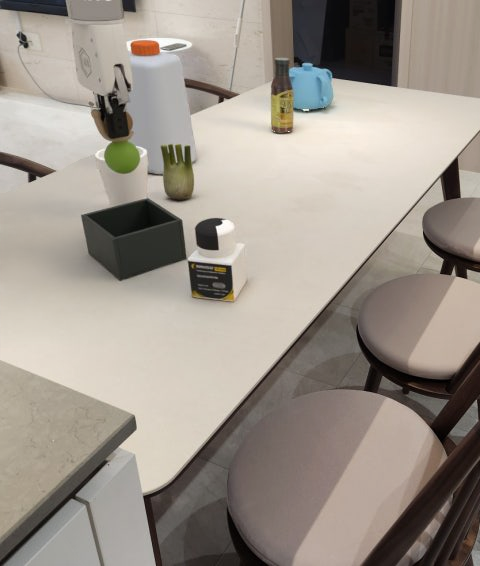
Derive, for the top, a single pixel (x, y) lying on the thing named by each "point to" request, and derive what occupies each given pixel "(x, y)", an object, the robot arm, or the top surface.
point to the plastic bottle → (158, 103)
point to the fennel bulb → (177, 172)
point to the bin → (134, 237)
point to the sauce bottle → (281, 97)
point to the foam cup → (124, 180)
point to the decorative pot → (311, 87)
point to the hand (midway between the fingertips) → (115, 134)
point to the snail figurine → (118, 146)
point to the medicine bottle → (217, 261)
